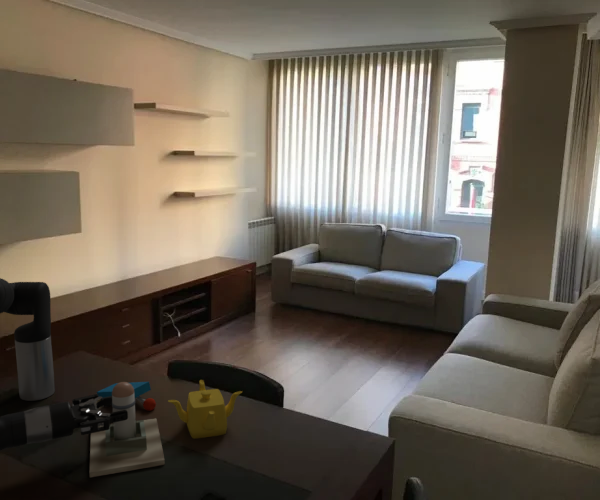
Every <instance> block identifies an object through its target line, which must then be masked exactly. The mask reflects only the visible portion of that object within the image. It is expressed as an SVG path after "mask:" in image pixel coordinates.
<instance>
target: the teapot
mask: <svg viewBox="0 0 600 500" xmlns="http://www.w3.org/2000/svg"><path fill="white" fill-rule="evenodd" d="M198 382H199V383H198V384H199V389H198V390H195V391H190V392H189V393H188V397H187V402H186V403H187V404H186V410H184V409H183V406H182V405H181V402H180V401H179V400H176V399H169V400H167V403H170V404H172V405H174V407H175V409H176V411H177V415H178V418H179V419H180V420H181V421H182V422H183V423H185V424H186V426H187V430H188V432H189V435H190V437H191V438H192V439H194V440H195V439H205V438H210V437H211V438H212V437H217V436H222V435H225V434H226V433H227V431H228V417H230V416H231V415H232V413H233V411H234V408H235V403H236V400H237V397H238V396H239V395H241V394H242V393H243V390H242V391H241V390H239V391H236V392H233V393H232V395H231V396H230V398H229V399H230V400H229V401H228V403H227V404H225V399H224V397H223V394H222V392H221V391H220V389H219V388H213V389H206V384H205V380H204V379H200V380H199V381H198Z"/></svg>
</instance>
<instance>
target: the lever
mask: <svg viewBox="0 0 600 500" xmlns="http://www.w3.org/2000/svg"><path fill="white" fill-rule="evenodd" d="M118 383H119V382H117V383H113V384H111V385H109V386H106V387H104V388H103V389H100V390H98V391H96V394H98V397H102V398H104V397H109V396H112V390H113V388H114V387H115V385H117V384H118ZM129 383H130V384H131V385H132V386H133V388H134V397H135V401H138V402H139V403H141V404H142V406H143V409H144V410H145V411H147V412H151V411H153V410H154V409H155V408H156V407H157V403H156V400H155V399H154V398H152V397H148V398H146V399H145V398H143V397H141V396H142V395H143V394H146V393H148V392H149V391H151V390H152V389H151V383H150V381H137V382H136V381H135V382H134V381H133V382H129Z"/></svg>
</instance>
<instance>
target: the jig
mask: <svg viewBox="0 0 600 500" xmlns="http://www.w3.org/2000/svg"><path fill="white" fill-rule="evenodd" d="M99 427H103V426H102V425H100V426H99ZM109 428H110V429H109V430H105V431H100V432H95V433H90V444H89V445H90V447H89V451H90V453H89V478H95V477H101V476H107V475H112V474H119V473H123V472H124V473H125V472H130V471H135V470H140V469H146V468H153V467H158V466H164V465H165V464H166V463H165V455H164V450H163V446H162V445H163V443H162V441H161V440H162V439H161V434H160V430H159V423H158V419H157V418H156V417H155V418H148V419H141V420H140V419H139V420H136V438H129V439H123V440H116V441H114V424H113V423H111V425H110V426H109Z"/></svg>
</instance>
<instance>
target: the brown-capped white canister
mask: <svg viewBox="0 0 600 500" xmlns="http://www.w3.org/2000/svg"><path fill="white" fill-rule="evenodd" d="M117 383H118V384H117V385H115V387H114V388H113V390H112V406H111V407H112V412H117V411H122V410H127V412H128V419H127V420H123V421H119V422H114V423H112V424H114V441H116V440H123V439H129V438H136V421H137V420H136V399H135V397H134V388H133V386H132V385H131V384H130V383H131V382H127V381H120V382H117Z"/></svg>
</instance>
